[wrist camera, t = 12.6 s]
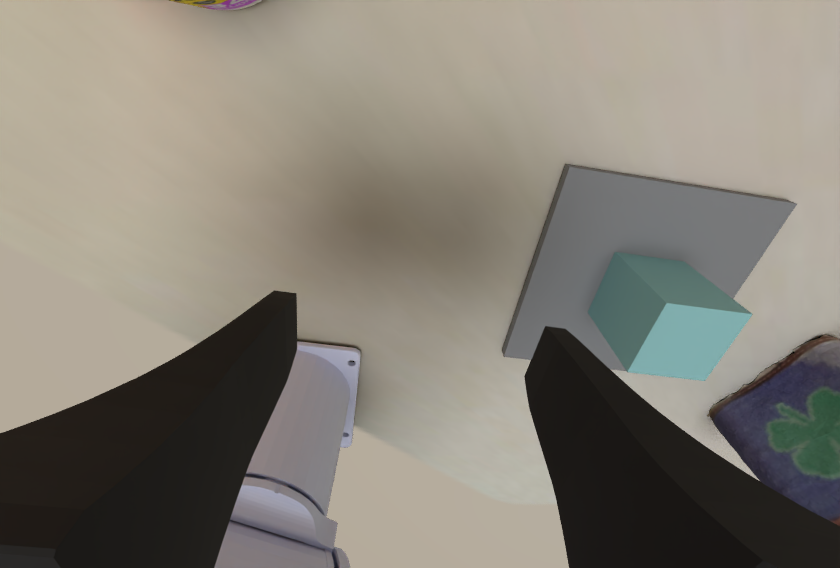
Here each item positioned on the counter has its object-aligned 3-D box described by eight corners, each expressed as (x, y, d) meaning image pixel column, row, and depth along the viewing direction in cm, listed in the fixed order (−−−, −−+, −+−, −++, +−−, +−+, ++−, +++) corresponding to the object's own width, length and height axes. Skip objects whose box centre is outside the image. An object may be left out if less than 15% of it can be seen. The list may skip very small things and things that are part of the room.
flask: (824, 327, 24) (1072, 494, 15) (848, 346, 25) (1098, 516, 16) (698, 412, 28) (835, 586, 19) (723, 427, 29) (865, 600, 20)
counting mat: (674, 370, 26) (679, 377, 26) (502, 350, 25) (503, 356, 25) (787, 199, 20) (797, 203, 19) (565, 164, 19) (569, 166, 18)
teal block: (651, 320, 23) (704, 380, 19) (587, 312, 23) (627, 372, 18) (684, 261, 21) (752, 314, 17) (615, 251, 21) (666, 302, 16)
